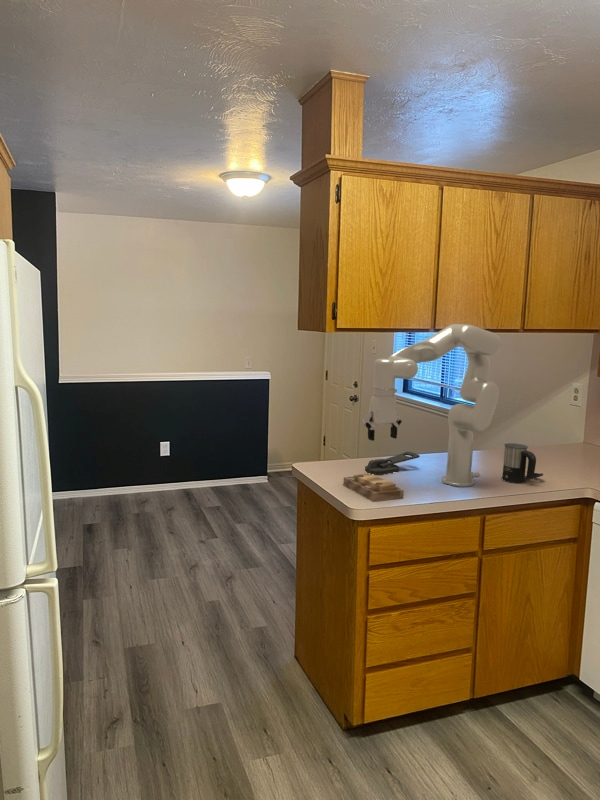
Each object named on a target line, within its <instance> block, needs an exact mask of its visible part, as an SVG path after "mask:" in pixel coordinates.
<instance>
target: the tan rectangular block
mask: <svg viewBox="0 0 600 800" xmlns="http://www.w3.org/2000/svg"><path fill="white" fill-rule="evenodd" d="M352 477H353V478H354V479H356V482H357V483H359V484H361V485H363V486H369V487H371V488H372V490H373V491H375V492H379V491H389V490H395V488H396V487H397V486H396V485H397V484H396V483H394V482H392V481H389V480H386V479H385V478H382V477H379V476H378V475H372V474H369V473H366V472H365V473H359V474H353V476H352Z"/></svg>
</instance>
